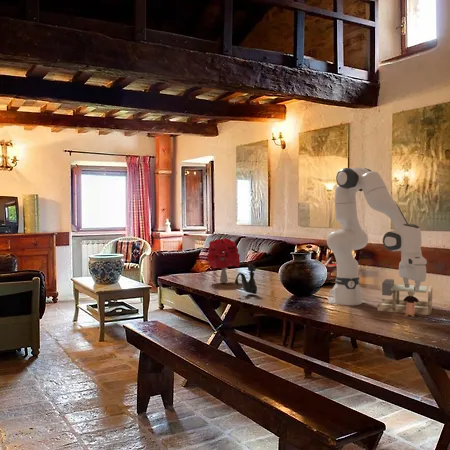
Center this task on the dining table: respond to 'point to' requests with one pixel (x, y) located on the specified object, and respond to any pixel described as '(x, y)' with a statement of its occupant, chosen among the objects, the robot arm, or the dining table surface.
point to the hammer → (398, 287)
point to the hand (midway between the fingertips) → (411, 289)
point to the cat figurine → (250, 285)
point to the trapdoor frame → (397, 305)
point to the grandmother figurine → (410, 303)
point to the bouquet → (223, 256)
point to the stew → (330, 271)
